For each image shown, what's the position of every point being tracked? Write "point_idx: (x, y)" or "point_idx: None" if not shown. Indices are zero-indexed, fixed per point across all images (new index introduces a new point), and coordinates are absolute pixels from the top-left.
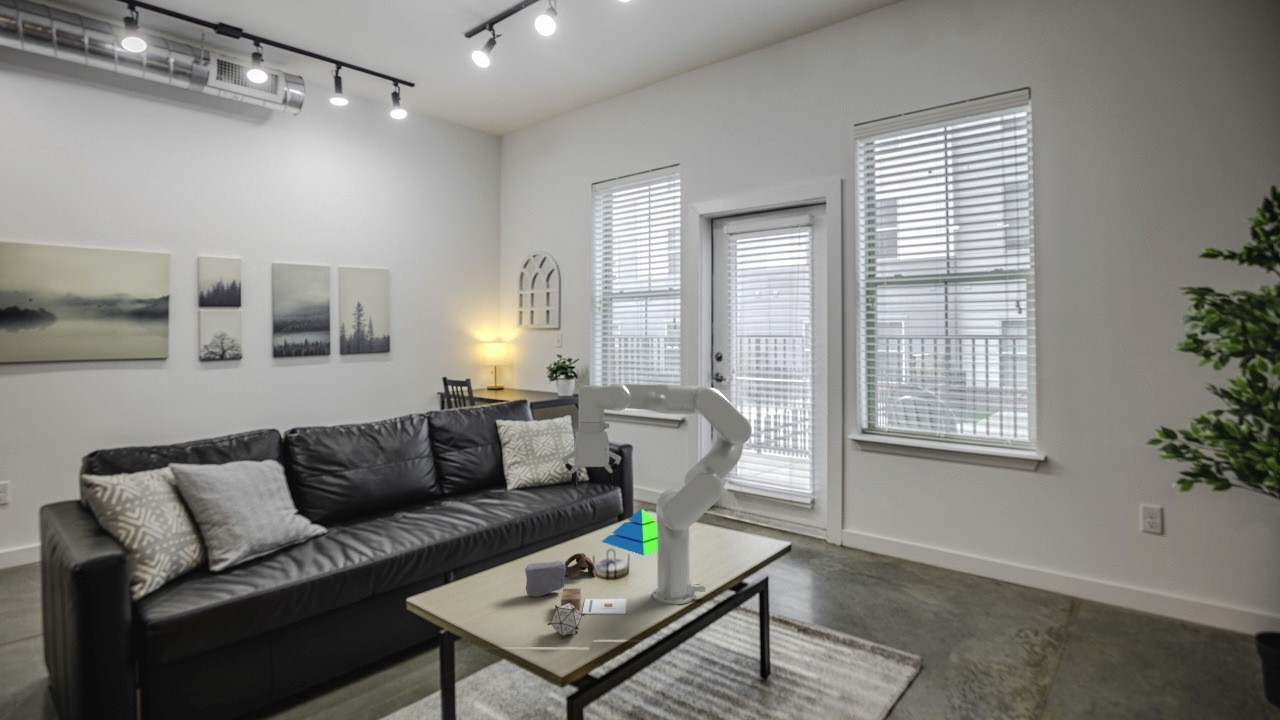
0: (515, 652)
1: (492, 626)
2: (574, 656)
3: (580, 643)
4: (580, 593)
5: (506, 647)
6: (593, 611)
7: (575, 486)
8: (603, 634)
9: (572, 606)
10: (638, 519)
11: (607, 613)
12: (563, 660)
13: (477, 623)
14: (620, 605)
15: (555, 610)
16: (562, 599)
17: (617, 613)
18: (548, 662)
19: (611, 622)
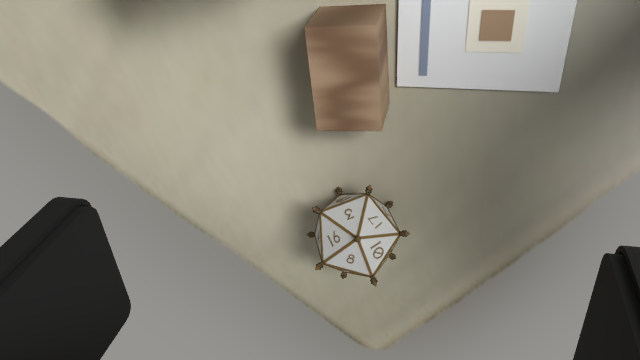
0: (261, 269)
1: (155, 147)
2: (394, 299)
3: (404, 251)
4: (379, 35)
5: (233, 248)
6: (436, 73)
7: (123, 316)
8: (467, 216)
9: (367, 251)
10: None
11: (488, 88)
12: (372, 309)
13: (109, 127)
14: (548, 22)
15: (316, 212)
16: (321, 129)
17: (526, 90)
18: (341, 311)
19: (497, 148)
